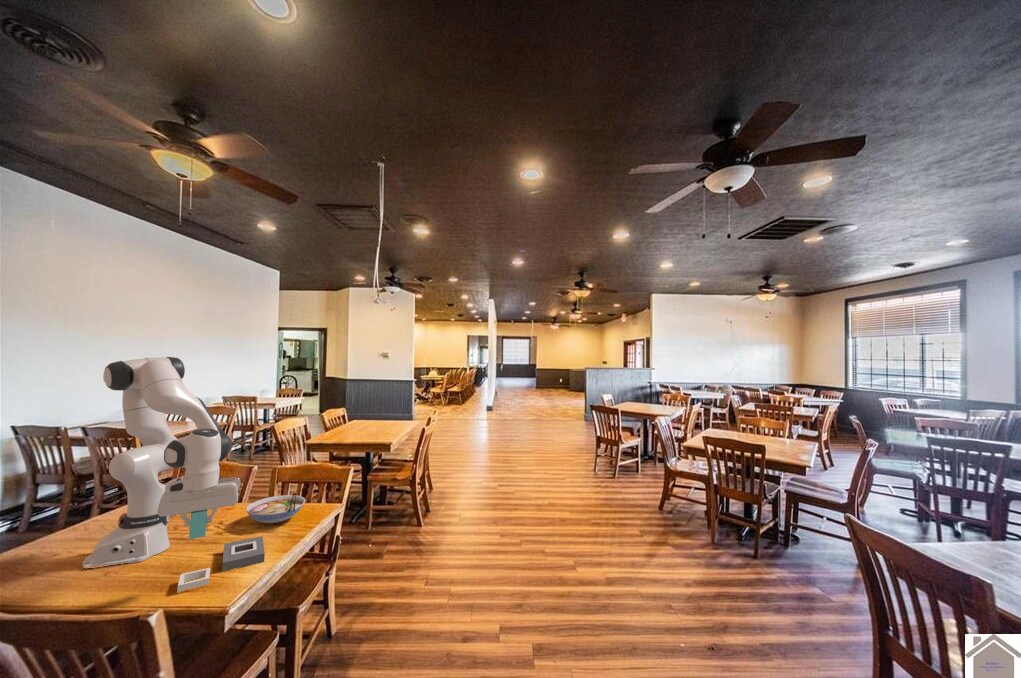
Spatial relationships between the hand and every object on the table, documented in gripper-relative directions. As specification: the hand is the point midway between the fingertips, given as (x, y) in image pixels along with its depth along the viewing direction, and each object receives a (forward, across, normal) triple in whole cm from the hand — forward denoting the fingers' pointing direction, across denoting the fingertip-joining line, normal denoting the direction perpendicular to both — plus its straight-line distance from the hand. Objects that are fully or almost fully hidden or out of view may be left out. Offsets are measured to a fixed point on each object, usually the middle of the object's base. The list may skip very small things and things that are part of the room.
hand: (198, 524), depth 123 cm
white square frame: (+19, 0, 0) cm, 19 cm away
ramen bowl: (+19, -25, -42) cm, 52 cm away
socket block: (+19, -13, -12) cm, 26 cm away
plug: (+4, 0, 0) cm, 4 cm away
